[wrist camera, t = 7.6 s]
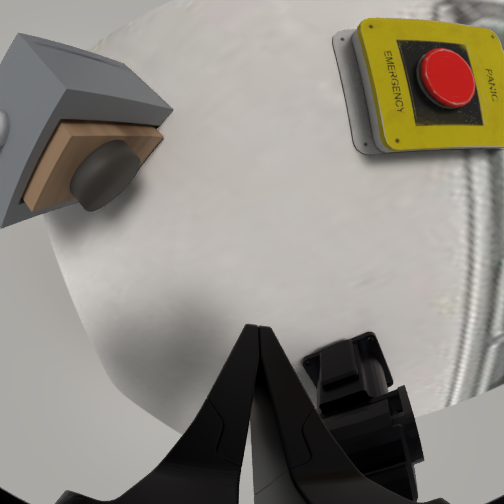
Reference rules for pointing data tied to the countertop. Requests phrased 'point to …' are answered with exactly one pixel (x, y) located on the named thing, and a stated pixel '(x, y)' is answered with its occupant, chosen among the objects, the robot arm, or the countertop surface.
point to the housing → (58, 107)
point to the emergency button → (422, 85)
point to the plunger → (88, 162)
